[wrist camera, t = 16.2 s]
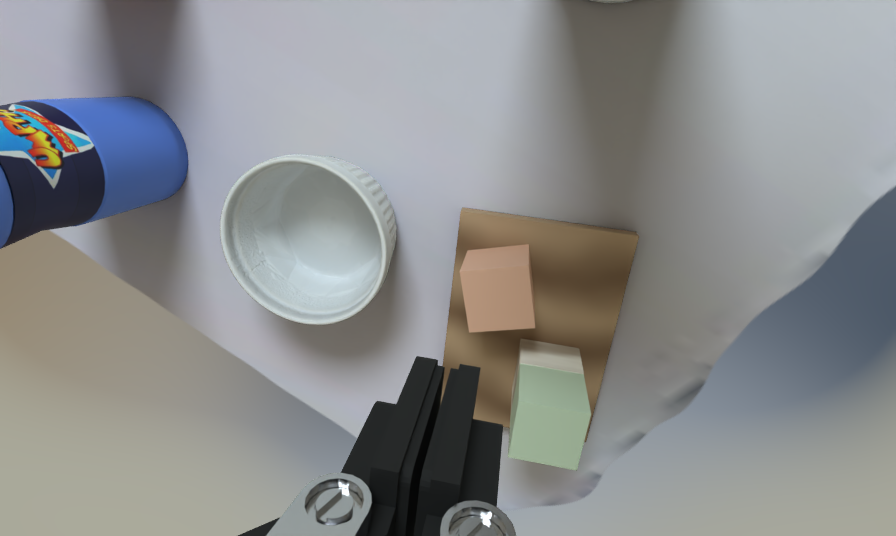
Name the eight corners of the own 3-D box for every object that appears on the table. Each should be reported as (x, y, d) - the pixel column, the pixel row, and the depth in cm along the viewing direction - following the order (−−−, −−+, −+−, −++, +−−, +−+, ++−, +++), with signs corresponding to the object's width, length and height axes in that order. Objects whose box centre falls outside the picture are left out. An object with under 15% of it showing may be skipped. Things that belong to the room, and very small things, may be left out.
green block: (520, 363, 39) (518, 400, 34) (583, 374, 38) (591, 414, 34) (510, 414, 41) (507, 457, 36) (571, 426, 40) (576, 470, 36)
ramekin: (425, 279, 43) (407, 313, 37) (293, 302, 46) (255, 337, 40) (384, 129, 39) (356, 137, 33) (242, 164, 42) (191, 178, 36)
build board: (462, 207, 41) (453, 223, 36) (636, 231, 39) (651, 252, 34) (439, 406, 48) (429, 442, 43) (584, 433, 46) (590, 474, 41)
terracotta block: (467, 250, 40) (459, 271, 36) (528, 244, 40) (528, 265, 35) (475, 305, 42) (469, 332, 37) (534, 300, 41) (535, 328, 36)
